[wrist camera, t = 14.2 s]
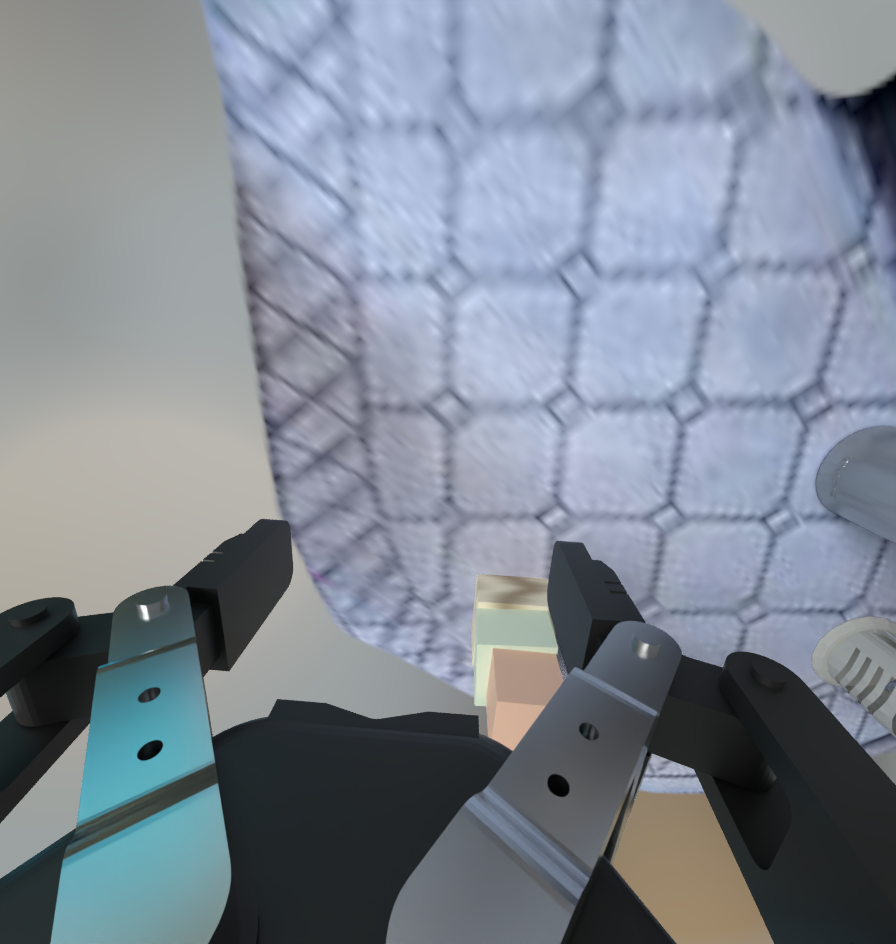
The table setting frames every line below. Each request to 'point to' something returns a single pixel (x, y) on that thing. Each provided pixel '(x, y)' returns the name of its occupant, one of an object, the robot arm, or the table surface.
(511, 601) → the birch base block
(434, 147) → the table surface
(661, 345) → the table surface
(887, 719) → the french press
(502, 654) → the terracotta block
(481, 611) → the sage top block
